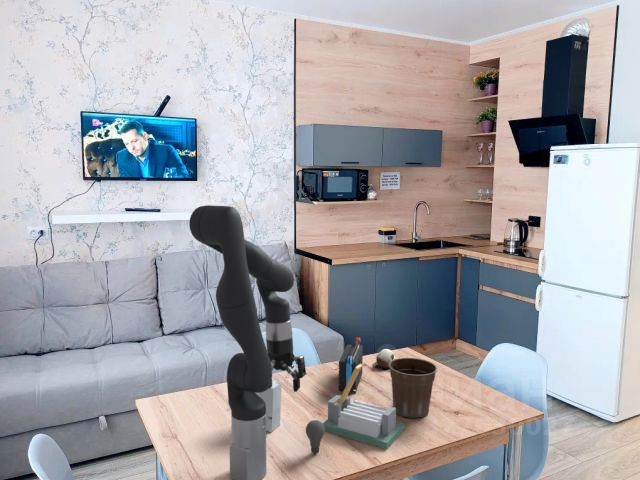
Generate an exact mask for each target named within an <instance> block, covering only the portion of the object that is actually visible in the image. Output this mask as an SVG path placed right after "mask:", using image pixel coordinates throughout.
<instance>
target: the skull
mask: <svg viewBox="0 0 640 480" xmlns="http://www.w3.org/2000/svg"><path fill="white" fill-rule="evenodd" d="M375 359H376V360H375V361H374V362H373V364H372V368H375V369H379V370H381V371H384V372H386V373H388V372H389V373H390V368H389V363H390V362H391V361H392V360H395V359H397V358H396V356H395V353H394V352H393V351H392V350H391V349H388V348H384V349H381V350H380V351H379V353H377V355H376V358H375Z"/></svg>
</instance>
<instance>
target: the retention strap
mask: <svg viewBox="0 0 640 480" xmlns="http://www.w3.org/2000/svg"><path fill="white" fill-rule="evenodd" d="M361 367H362V368H363V363H362V364H359V365H358V366H357V367H355V369H354V371H353V373H352V375H351V377H350V379H349V381H348V383H347V385H346V387H345V389H344V391H343V392H341V393H342V394H341V395H340V396H341V398H340V400H339V402H338V403H341V404H342V403H343V402H344V401H345V399H346V397H347V396H349V391H350V389H351V387H352V385H353V383H354V381H355V379H356V377H357V375H358V373H359V371H360V369H361Z"/></svg>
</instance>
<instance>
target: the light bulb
mask: <svg viewBox="0 0 640 480" xmlns="http://www.w3.org/2000/svg"><path fill="white" fill-rule="evenodd" d="M322 423H323V422H322V421H320V420H318V419H312V420H310V421H309V422H307V425H306V427H305V433H306V436H307V438H308V439H309V442H310V443H309V445H310V451H311V453H312V454H314V455H317V454H318V453H319V452H320V447H321V441H322V439H323V437H324V435H325V433H326V431H325V427H324V425H323V424H322Z"/></svg>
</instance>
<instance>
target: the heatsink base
mask: <svg viewBox="0 0 640 480" xmlns="http://www.w3.org/2000/svg"><path fill="white" fill-rule="evenodd" d="M340 398H341V395H338V394H336V395H334V397H332V398H331V399H329V400H328V401H327V419H326V420H325V421H324V422H321V423H322V424H323V425H324V427H325V433H330V434H333V435H335V436H336V435H337V436H339V437H344V438H347V439H350V440H353V441H357V442H361V443H364V444H368V445H370V446H374V447H379V448H380V449H385V450H388V449H389V448H390V447H391V445H393V443H394V442H395V441H396V440H397V439H398V438H399V437H400V436H401V434H403V432H404V431H405V428H406V427H405V425H406V424H405V423H403V422H399V421H397V420H396V419H397V413H396V408H394V407H393V406H389V407H388V408H387V407H385V406H380V405H378V404H377V405H376V404H372V403H368V402H365V401H360V400H356V399H354V400H353V402H351V396H349V395H347V397H346V399H345V401H344V402H343V403H342V404H341V403H338V402H339V400H340Z"/></svg>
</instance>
